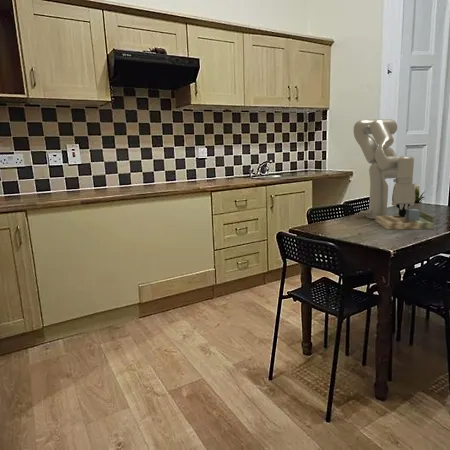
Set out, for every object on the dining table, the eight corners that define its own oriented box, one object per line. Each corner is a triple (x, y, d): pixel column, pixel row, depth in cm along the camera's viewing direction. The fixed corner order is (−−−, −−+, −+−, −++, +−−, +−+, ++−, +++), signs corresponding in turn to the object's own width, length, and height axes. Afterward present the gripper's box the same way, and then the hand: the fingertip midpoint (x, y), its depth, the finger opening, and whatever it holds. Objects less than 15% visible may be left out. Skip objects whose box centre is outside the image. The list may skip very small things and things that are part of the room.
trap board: (387, 229, 184) (388, 217, 183) (375, 221, 204) (376, 210, 202) (433, 228, 182) (434, 216, 181) (417, 220, 201) (418, 209, 200)
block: (408, 220, 189) (409, 210, 188) (405, 218, 194) (405, 209, 193) (419, 220, 188) (419, 210, 187) (415, 218, 193) (416, 208, 192)
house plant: (395, 211, 230) (397, 184, 227) (417, 210, 231) (419, 183, 228) (409, 215, 216) (411, 187, 213) (431, 214, 217) (434, 186, 214)
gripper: (391, 182, 185) (389, 218, 189) (422, 181, 183) (420, 217, 187) (386, 181, 192) (384, 215, 196) (416, 180, 191) (414, 215, 194)
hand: (402, 216), depth 191 cm, fingers closed
